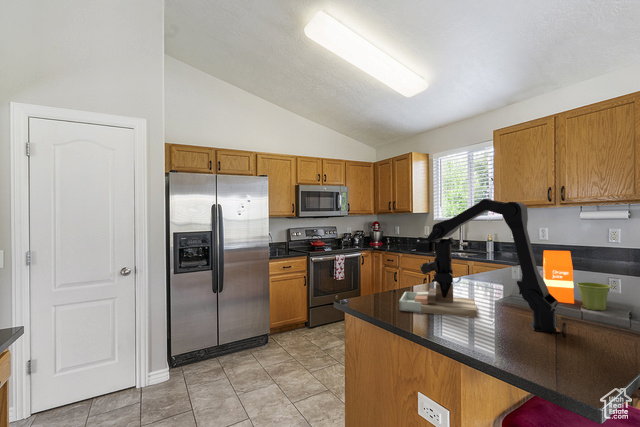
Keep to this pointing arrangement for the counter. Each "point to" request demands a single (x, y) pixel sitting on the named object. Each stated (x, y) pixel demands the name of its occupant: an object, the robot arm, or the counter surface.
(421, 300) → the terracotta tile
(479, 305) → the counter surface
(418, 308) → the tray
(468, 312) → the maple board
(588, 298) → the plant pot
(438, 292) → the brown stepped block
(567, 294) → the orange juice
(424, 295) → the cream tile
